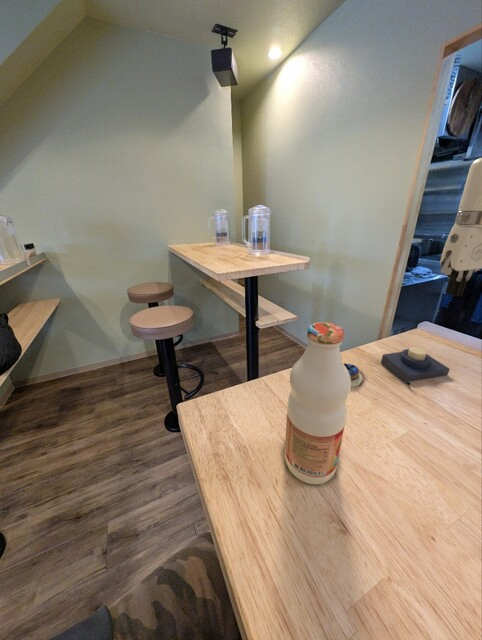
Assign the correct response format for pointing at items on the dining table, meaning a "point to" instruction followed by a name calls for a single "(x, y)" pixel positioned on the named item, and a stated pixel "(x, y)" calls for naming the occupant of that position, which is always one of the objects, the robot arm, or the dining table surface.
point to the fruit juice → (317, 406)
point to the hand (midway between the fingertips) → (453, 294)
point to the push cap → (417, 353)
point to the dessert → (354, 374)
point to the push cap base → (413, 367)
